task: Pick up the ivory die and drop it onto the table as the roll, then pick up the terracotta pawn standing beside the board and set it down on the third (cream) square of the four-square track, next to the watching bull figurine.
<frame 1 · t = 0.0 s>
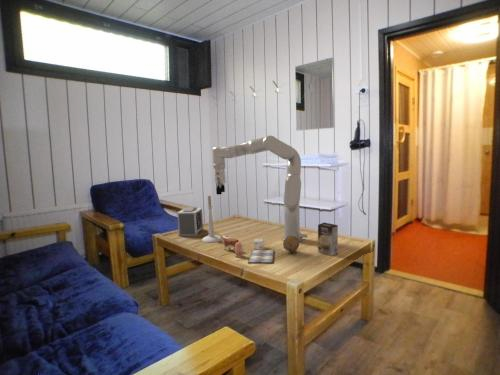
hand: (220, 193, 197), 31 cm above the table, tool pointing down, fingers open, 9 cm apart
coffee box: (327, 253, 169), on the table
natural sponge: (291, 253, 172), on the table
alarm clock: (191, 232, 223), on the table
die: (259, 248, 182), on the table
board: (261, 257, 167), on the table
bull figurine: (230, 250, 181), on the table
candlestick: (211, 240, 203), on the table
pawn: (239, 255, 170), on the table
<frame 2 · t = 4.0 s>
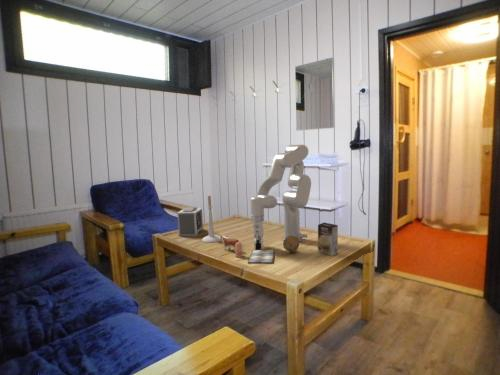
hand: (258, 247, 182), 0 cm above the table, tool pointing down, fingers closed on die, 5 cm apart
die: (258, 248, 182), on the table, touching gripper
everything else where it was.
when the fingers open (14 cm above the table, at t = 5.3 s): die drops 14 cm, on the table.
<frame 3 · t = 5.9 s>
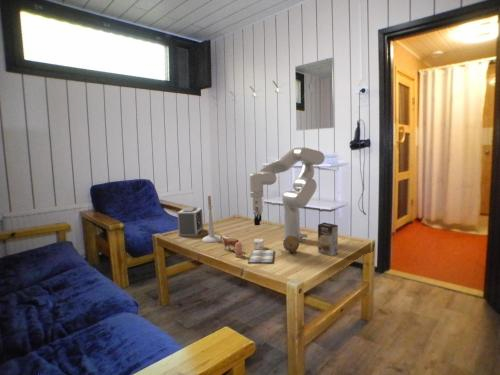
hand: (258, 223, 180), 15 cm above the table, tool pointing down, fingers open, 9 cm apart
die: (258, 248, 182), on the table
everything else where it was.
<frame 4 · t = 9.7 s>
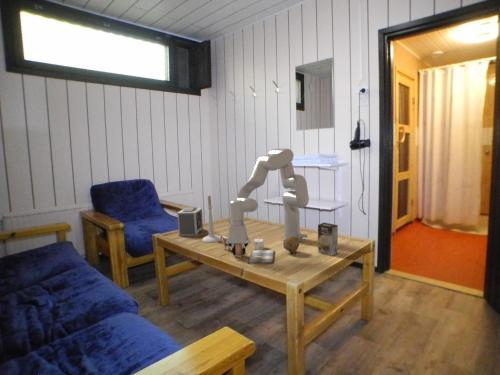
hand: (238, 254, 170), 1 cm above the table, tool pointing down, fingers closed on pawn, 4 cm apart
pawn: (239, 255, 170), on the table, touching gripper
everything else where it was.
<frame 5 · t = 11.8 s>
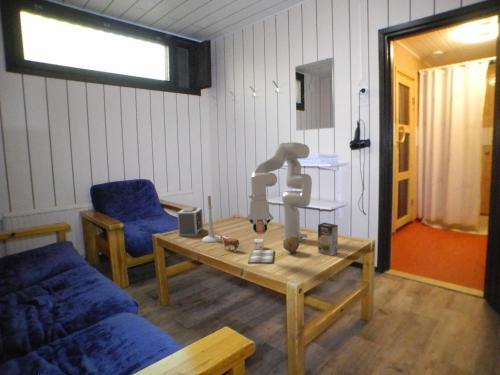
hand: (260, 231, 163), 15 cm above the table, tool pointing down, fingers closed on pawn, 4 cm apart
pawn: (260, 233, 163), point 14 cm above the table, touching gripper
everything else where it was.
when the fingers open (3 cm above the table, at t = 14.3 s): pawn stays where it is, resting on board.
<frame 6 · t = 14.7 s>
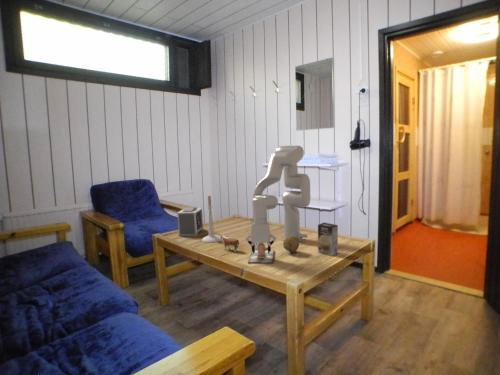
hand: (261, 252, 164), 3 cm above the table, tool pointing down, fingers open, 7 cm apart
pawn: (261, 257, 164), point 1 cm above the table, touching board
everything else where it was.
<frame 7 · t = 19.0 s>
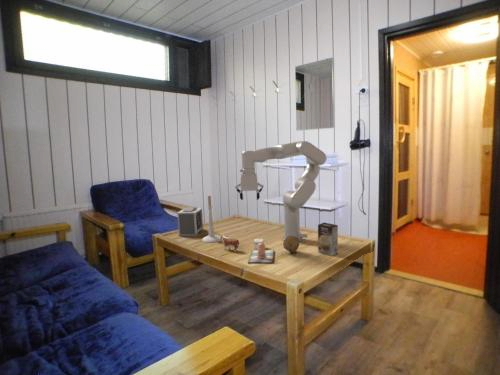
hand: (249, 199, 185), 28 cm above the table, tool pointing down, fingers open, 9 cm apart
nothing on the table moved.
at the end: pawn inside the target area on the board (0.1 cm from its centre), point 0.8 cm above the board's base; pawn tilted 0°; die on the table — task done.
